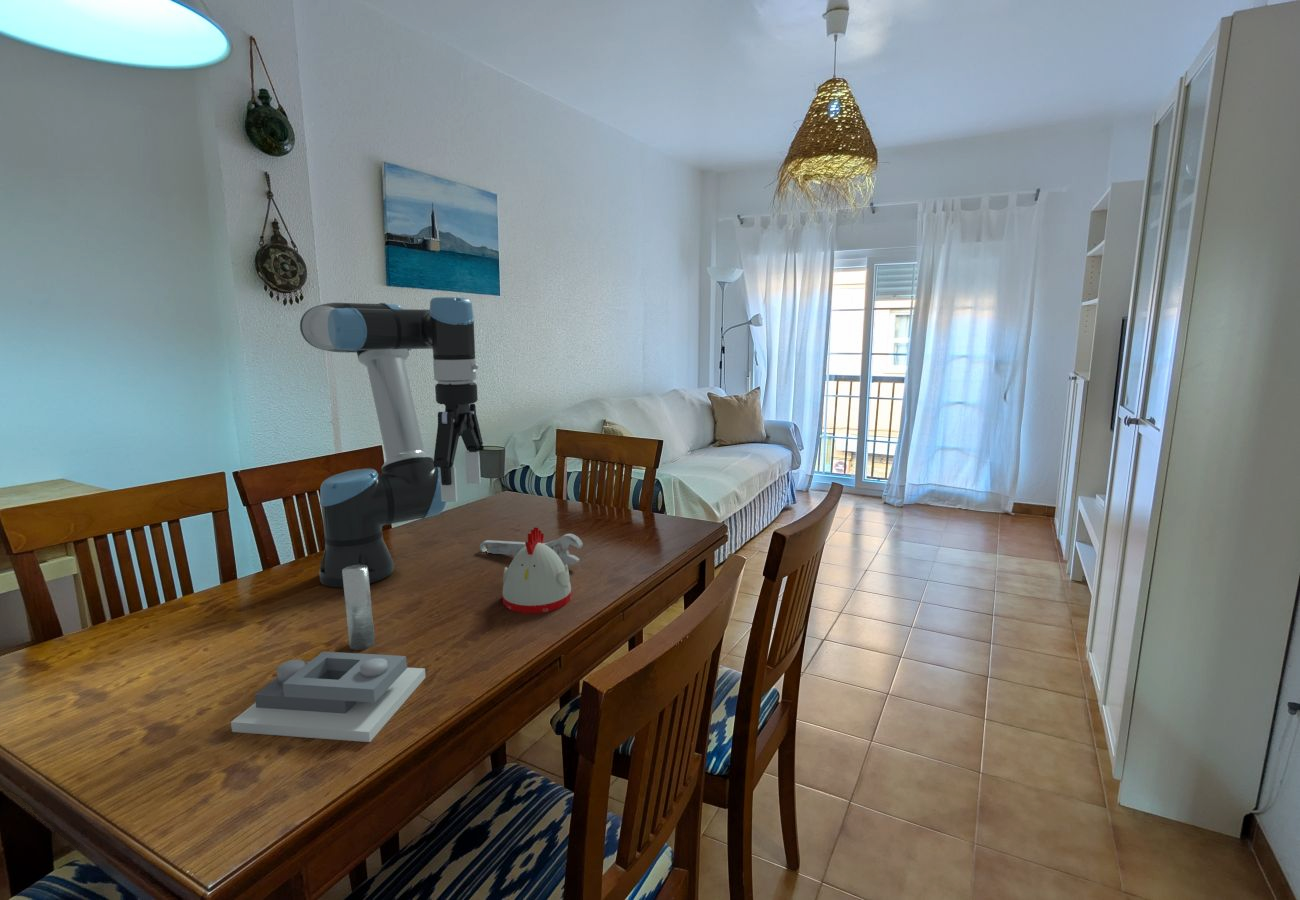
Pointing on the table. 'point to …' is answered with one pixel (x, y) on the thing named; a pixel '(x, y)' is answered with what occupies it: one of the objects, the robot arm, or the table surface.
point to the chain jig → (331, 697)
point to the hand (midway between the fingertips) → (462, 491)
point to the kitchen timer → (536, 578)
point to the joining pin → (358, 606)
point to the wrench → (557, 545)
